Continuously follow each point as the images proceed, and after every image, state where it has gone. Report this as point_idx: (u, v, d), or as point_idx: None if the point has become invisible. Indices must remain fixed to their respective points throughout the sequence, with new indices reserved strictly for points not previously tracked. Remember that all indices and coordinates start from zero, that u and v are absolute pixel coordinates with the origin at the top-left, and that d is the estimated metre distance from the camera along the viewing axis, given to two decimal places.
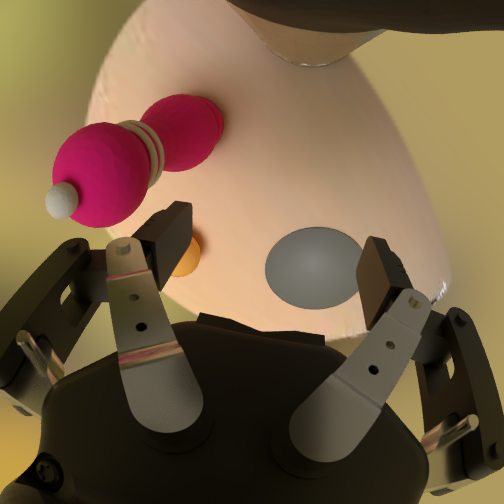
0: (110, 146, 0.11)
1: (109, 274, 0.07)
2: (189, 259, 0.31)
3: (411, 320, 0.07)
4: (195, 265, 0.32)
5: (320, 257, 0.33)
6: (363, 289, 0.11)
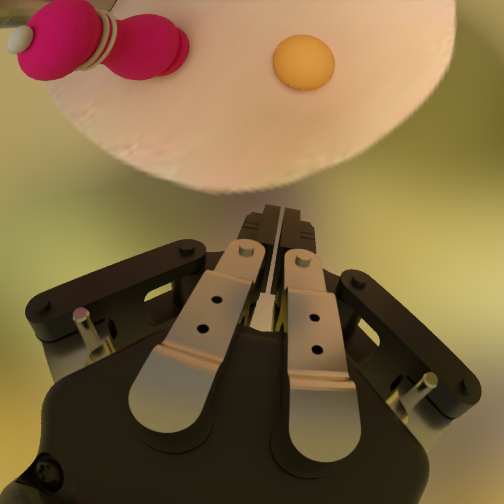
0: None
1: (216, 268, 0.08)
2: (296, 37, 0.17)
3: (310, 280, 0.08)
4: None
5: None
6: (276, 257, 0.12)
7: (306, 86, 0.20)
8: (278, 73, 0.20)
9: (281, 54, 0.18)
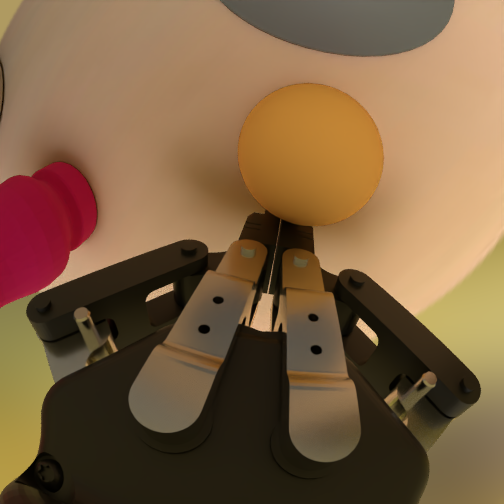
0: None
1: (218, 269, 0.08)
2: None
3: (308, 280, 0.08)
4: None
5: None
6: None
7: (354, 124, 0.07)
8: (268, 111, 0.08)
9: (273, 92, 0.09)
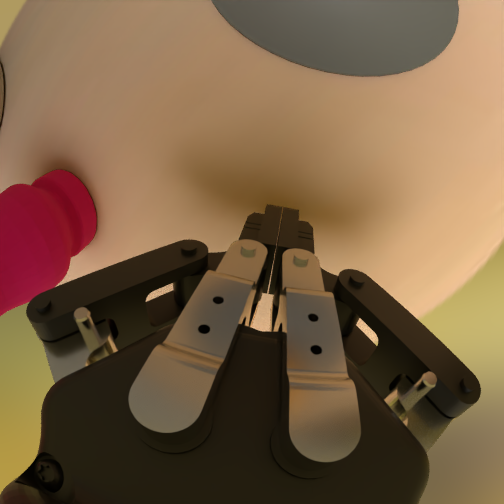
0: None
1: (218, 269, 0.08)
2: None
3: (308, 280, 0.08)
4: None
5: None
6: None
7: None
8: None
9: None
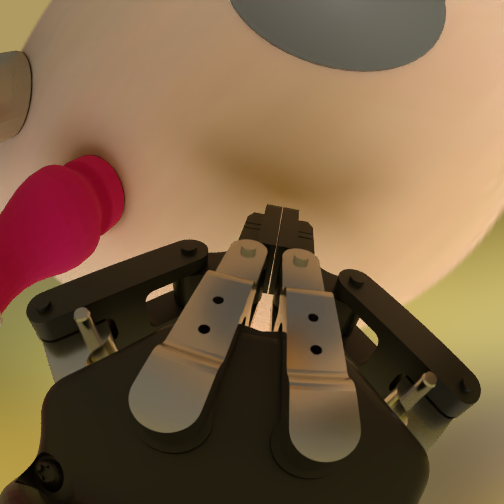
0: None
1: (218, 269, 0.08)
2: None
3: (308, 280, 0.08)
4: None
5: None
6: None
7: None
8: None
9: None
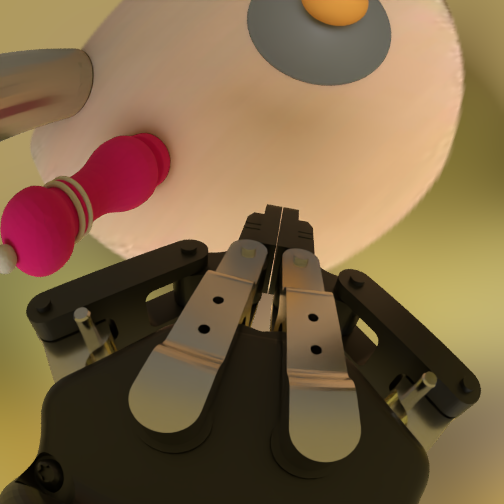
0: None
1: (218, 269, 0.08)
2: None
3: (308, 280, 0.08)
4: None
5: (292, 17, 0.17)
6: None
7: (344, 13, 0.13)
8: (310, 1, 0.13)
9: None
